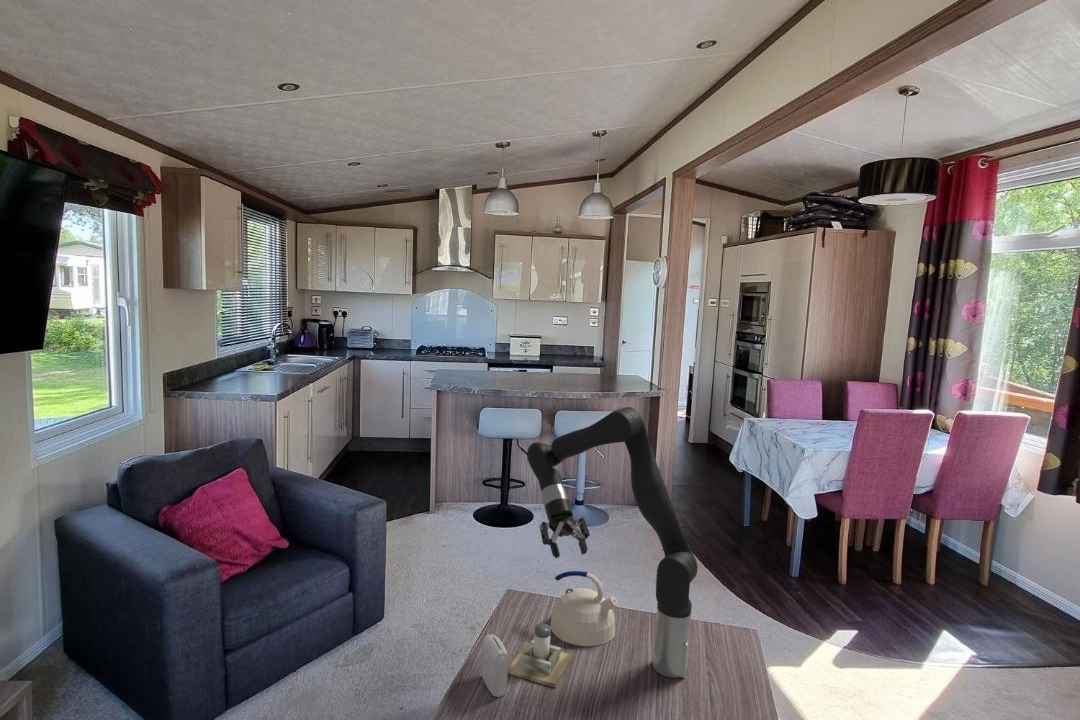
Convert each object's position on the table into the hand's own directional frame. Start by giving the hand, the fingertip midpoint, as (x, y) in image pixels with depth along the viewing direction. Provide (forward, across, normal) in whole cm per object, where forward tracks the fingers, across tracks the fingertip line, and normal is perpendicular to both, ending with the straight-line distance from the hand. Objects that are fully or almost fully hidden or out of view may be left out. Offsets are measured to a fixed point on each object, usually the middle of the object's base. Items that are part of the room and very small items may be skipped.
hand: (571, 555), depth 166 cm
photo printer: (+26, -25, +15) cm, 39 cm away
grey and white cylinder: (+22, -10, +17) cm, 30 cm away
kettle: (+14, +10, +27) cm, 32 cm away
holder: (+23, -10, +17) cm, 31 cm away
